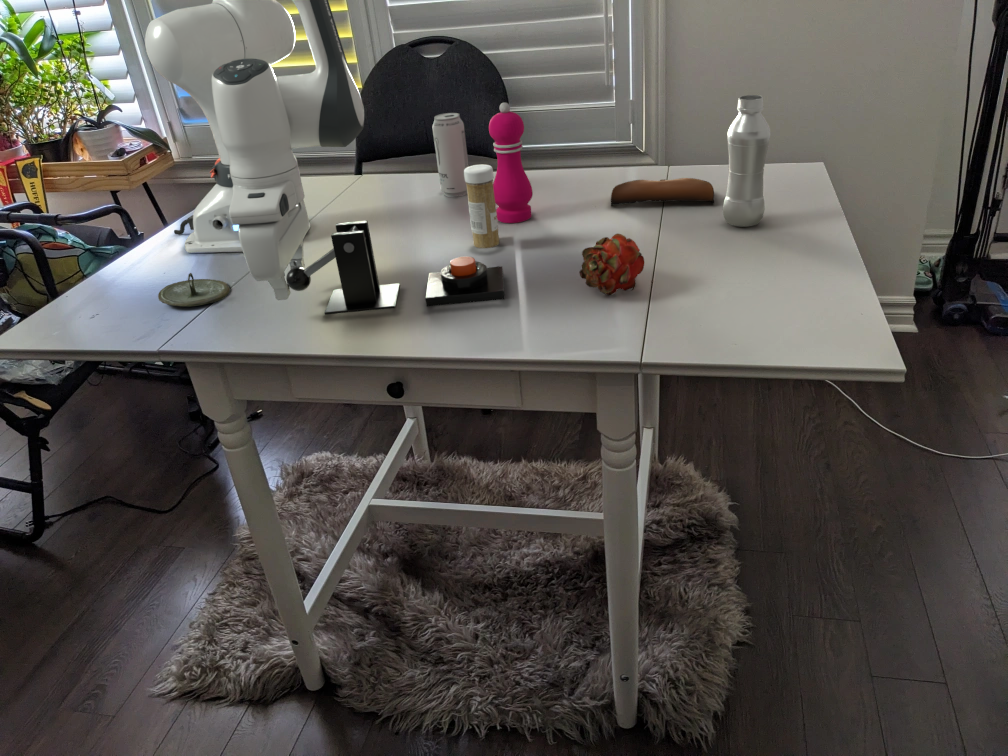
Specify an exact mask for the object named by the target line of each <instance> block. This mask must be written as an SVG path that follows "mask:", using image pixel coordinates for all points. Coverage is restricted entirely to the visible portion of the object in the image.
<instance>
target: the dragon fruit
mask: <svg viewBox="0 0 1008 756" xmlns="http://www.w3.org/2000/svg"><path fill="white" fill-rule="evenodd" d="M581 256H582V258H583V262H582V264H581V266H580V267H581V269H580V270H579V272H578V273H579V276H580V278H581V280H585V284H586V286H587V287H589V288H596V289H597V288H598V289H597V290H599V292H600V293H602V294H605V295H607V296H612V295H614V294H616V293H617V291H618V290H622V291H624V292H625V291H629V290H630V292H632V291H633V290H635V288H636V286H637V283H636V279H637V277H638V275H640V274H641V273H642V272H643V271H644V268H645V258H644V255H643V254H642V253H641V252H640V248H639V246H638V244H637V243H636V242H635V241H634V239H632V238H630V237H629V238H627V237H626V235H624V234H621V233H615V234H613V236H611V238H610V237H607V236H605V237H602V238H601V239H599V240H597V241H596V242H595V245H594V246H590V247H585V248H583V249H582V251H581Z"/></svg>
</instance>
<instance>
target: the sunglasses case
mask: <svg viewBox="0 0 1008 756" xmlns="http://www.w3.org/2000/svg"><path fill="white" fill-rule="evenodd" d="M702 201H704V202H712V204H715V189H714V186H713V184H712V183H711V182H709V181H708V180H704V179H699V178H693V177H681V178H675V179H674V178H673V179H659V180H654V179H653V180H650V179H634V180H628V181H625V182H623V183H619V184H617V185H615V186H614V187H613V188H612V190H611V195H610V207H613V206H615V205H616V206H617V205H626V204H636V203H646V202H702Z"/></svg>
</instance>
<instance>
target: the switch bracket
mask: <svg viewBox="0 0 1008 756" xmlns="http://www.w3.org/2000/svg"><path fill="white" fill-rule="evenodd" d="M353 226H356V227H357V228H358V230H359V231H351V232H347V231H348V230H349V229H351V228H352V227H353ZM335 229H336V232H332V233H331V235H330V238H331V242H332V246H333V248H334V253H335V262H336V266H337V271H338V275H339V280H340V281H339V282H340V285H341V288H335V289H332V292H331V295H330V298H329V299H328V300H329V301H328V303H327V305H326V307H325V310H324V315H335V314H346V313H356V312H368V311H378V310H391V309H396V305H397V303H398V302H397V301H398V297H399V292H400V287H401V283H399V282H398V283H390V284H389V283H388V284H380V281H379V276H378V271H377V265H376V260H375V254H374V249H373V243H372V238H371V232H370V227H369V222H368V220H357V221H349V222H348V221H347V222H338V223H336V224H335ZM365 238H366V240H365ZM333 248H332V249H333Z"/></svg>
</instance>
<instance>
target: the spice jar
mask: <svg viewBox="0 0 1008 756" xmlns="http://www.w3.org/2000/svg"><path fill="white" fill-rule="evenodd" d="M464 177H465V182H466V185H467V192H468V193H467V203H468V212H469V220H470V227H471V228H470V229H471V233H472V241H473V247H476V248H478V249H491V248H495V247H497V246H499V244H500V235H499V221H498V220H497V213H496V209H497V204H496V203H495V198H494V189H493V182H494V179H495V176H494V169H493V166H491V165H489V164H485V163H484V164H481V163H480V164H473V165H470V166H469V167H467V168H466V169H465V170H464Z"/></svg>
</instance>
